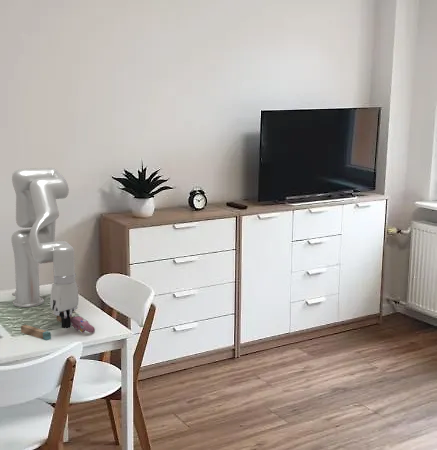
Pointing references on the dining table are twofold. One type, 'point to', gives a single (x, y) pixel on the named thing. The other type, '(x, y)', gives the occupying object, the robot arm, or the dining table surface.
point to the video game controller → (81, 324)
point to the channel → (38, 331)
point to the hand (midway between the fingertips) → (66, 327)
